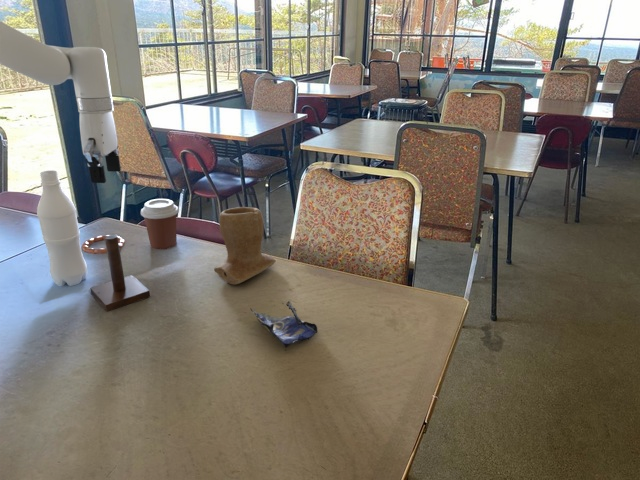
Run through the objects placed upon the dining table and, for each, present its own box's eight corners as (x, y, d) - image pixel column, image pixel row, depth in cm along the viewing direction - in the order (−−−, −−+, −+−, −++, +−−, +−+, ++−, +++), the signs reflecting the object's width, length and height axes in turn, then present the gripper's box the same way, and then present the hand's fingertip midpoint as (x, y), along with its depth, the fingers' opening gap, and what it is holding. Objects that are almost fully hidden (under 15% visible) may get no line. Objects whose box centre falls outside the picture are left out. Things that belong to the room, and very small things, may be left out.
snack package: (303, 311, 98) (247, 318, 94) (306, 286, 94) (248, 293, 91) (322, 353, 89) (260, 364, 85) (326, 327, 85) (261, 337, 81)
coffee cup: (189, 242, 127) (185, 199, 122) (169, 256, 119) (164, 211, 114) (159, 237, 129) (154, 195, 124) (137, 251, 121) (131, 206, 116)
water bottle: (96, 280, 107) (76, 171, 97) (66, 293, 102) (41, 179, 91) (76, 271, 110) (54, 165, 100) (46, 284, 105) (20, 173, 95)
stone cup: (245, 253, 122) (243, 197, 116) (282, 266, 116) (281, 207, 110) (200, 275, 110) (195, 214, 104) (238, 291, 104) (235, 227, 98)
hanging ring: (90, 260, 116) (89, 254, 116) (76, 246, 123) (75, 241, 122) (131, 249, 122) (130, 243, 122) (115, 236, 129) (115, 231, 128)
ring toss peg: (107, 311, 96) (96, 250, 90) (91, 294, 102) (79, 235, 96) (150, 296, 101) (142, 238, 96) (132, 280, 107) (124, 225, 102)
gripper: (94, 99, 118) (105, 167, 125) (61, 110, 102) (75, 187, 109) (125, 99, 118) (134, 167, 125) (97, 111, 103) (109, 187, 109)
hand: (106, 176), depth 117 cm, fingers open, 9 cm apart
